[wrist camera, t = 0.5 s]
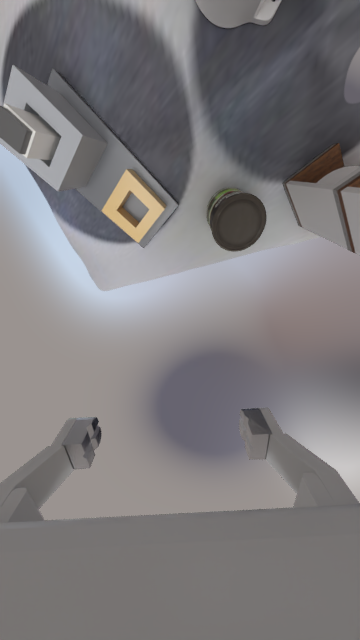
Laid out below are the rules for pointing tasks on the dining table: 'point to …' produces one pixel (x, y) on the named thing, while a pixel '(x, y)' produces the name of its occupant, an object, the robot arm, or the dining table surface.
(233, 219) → the coffee can
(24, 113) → the plug
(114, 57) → the dining table surface
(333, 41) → the dining table surface
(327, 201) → the striped beige pillar
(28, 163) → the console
